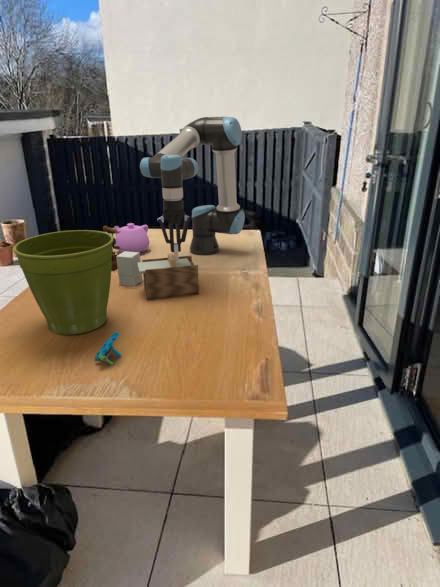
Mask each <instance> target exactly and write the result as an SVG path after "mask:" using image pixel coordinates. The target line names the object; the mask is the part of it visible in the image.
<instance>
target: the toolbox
mask: <svg viewBox="0 0 440 587" xmlns="http://www.w3.org/2000/svg"><path fill="white" fill-rule="evenodd" d="M178 257H179V259H184V258H187V259H188V260H189V262H190V264H191V266H180V267H169V268H158V269H147V270H145V273H144V274H142V277H143V285H144V286H143V287H144V290H145V291H144V292H145V295H146V298H147V301H149V300H151V301H152V300H158V299H159V300H160V299H171V298H178V297H186V296H195V295H196V296H198V295H200V292H199V290H200V289H199V288H200V285H199V284H200V282H199V265H198V264H195V263H194V261H193V255H183V256H182V255H181V256H178ZM161 260H168V257H160V258H158V257H157V258H148V259H142V261H141V262H150V261H161Z"/></svg>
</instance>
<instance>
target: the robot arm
mask: <svg viewBox="0 0 440 587" xmlns="http://www.w3.org/2000/svg"><path fill="white" fill-rule="evenodd" d="M242 135H243V134H242V127H241V124H240V121H239V120H238V119H237V118H236V117H233V116H204V117H200V118H197V119H195V120H193V121H191V122H189V123H188V124H187V125H185V126H183V128H181V129H180V133H179V134H178V135H177V136H175V138H174V139H172V140H171V141H170V142H169V143H168V144H166V145H165V146H164V147H163V148H162V149H161V150H159V152H157V153H156V154H154V156H152V157H151V156H148V157H143V158H142V159H141V160H140V163H139V169H140V173H141V175H142V176H143V177H146V178H151V179H161V187H162V188H161V189H162V190H161V192H162V199H163V200H162V206H163V208H162V209H163V212H162V216H160V217H157V219H156V220H157V222H158V224H159V225H160V229H161V232H162V235H163V238H164V241H165V243H166V244H169V246H170V247H169V248H170V252H171V253H173V255H174V257H175V259H176V261H179V257H180V256H179V253H181V251H182V247H181V244H182V243H185V242H186V239H187V238H186V237H187V234H188V228H189V225H190V222H191V223H192V225H191V226H192V238H191V243H190V244H189V252H190V253H191V254H193V255H197V256H198V255H199V256H207V255H214V254H216V253H218V252H219V251H220V245H219V243H218V240H217V237H216V233H217V234H224V235H225V234H226V235H238V234H240V233H241V231H243V227H244V224H245V220H246V219H245V218H246V215H245V212H244V210H241V206H240V204H238V202H237V182H236V178H237V177H236V161H235V160H236V159H235V153H236V151H237V149H238V146H239V145H241V142H242V137H243V136H242ZM203 145H207V146H211V151H212V152H213V153H214V154H215V162H216V164H215V165H216V180H217V193H218V194H217V195H218V205H217V206H215V205H213V204H207V205H199V206H196V207H194V208H192V210H191V216H189V215H187V214H186V212H185V211H184V210H185V209H184V206H185V205H184V199H183V198H184V189H183V184H184V183H183V181H184V180H187V179H192V178H193V177H195V176H196V175H197V174H198V171H199V164H198V162H197V160H195V159H194V158H192V157H184V156H185V155H186V154H187V153H188V152H189V151H190V150H191V149H195V148H196V147H198V146H203ZM183 219H184V223H183V227H182V232H181V222H182V221H183ZM165 221H166V223H168V229H169V232H168V233H169V236H168V233H167V230H166V227H165V223H164V222H165ZM174 225H175V234H176V235H175V234H174ZM174 236H176V238H174ZM175 239H176V242H175Z"/></svg>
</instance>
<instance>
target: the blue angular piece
mask: <svg viewBox="0 0 440 587" xmlns="http://www.w3.org/2000/svg"><path fill="white" fill-rule="evenodd" d="M119 335H120V332H119V331H115V332H114V333H112V334H111V335H110V337H109V338H108V339H106V341H104V343H103V344H102V345H101V347H100V348H99V349H100V350H98V351H97V352H96V354H95V356H94V357H93V358H94V359H95V360H96V361H98V360H100V361H103V362H106V363H108V364H109V365H110V366H113V364H114V362H113V361H111V360H110V359H109V356H110V354H111V353H113V354H114V355H116V357H118V358H120V357H121V356H122V353H121V352H119V351H117V350H116V349H115V348H114V346H113V345H114V344H115V342H114V341H116V340H117V339H118V338H119Z"/></svg>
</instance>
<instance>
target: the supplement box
mask: <svg viewBox="0 0 440 587" xmlns="http://www.w3.org/2000/svg"><path fill="white" fill-rule="evenodd" d="M140 254H141V252H127V251H124V252H123V253H119V255H118V256H116V259H117V268H118V270H117V273H118V274H117V276H118V281H119V282H118V283H119V286H120V285H121V286H128V287H129V286H131V287H135V286H137V285H138V284H140V283H141V282H143V274H140V273H139V269H138V264H137V263H138V262H142V261H141V255H140Z"/></svg>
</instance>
